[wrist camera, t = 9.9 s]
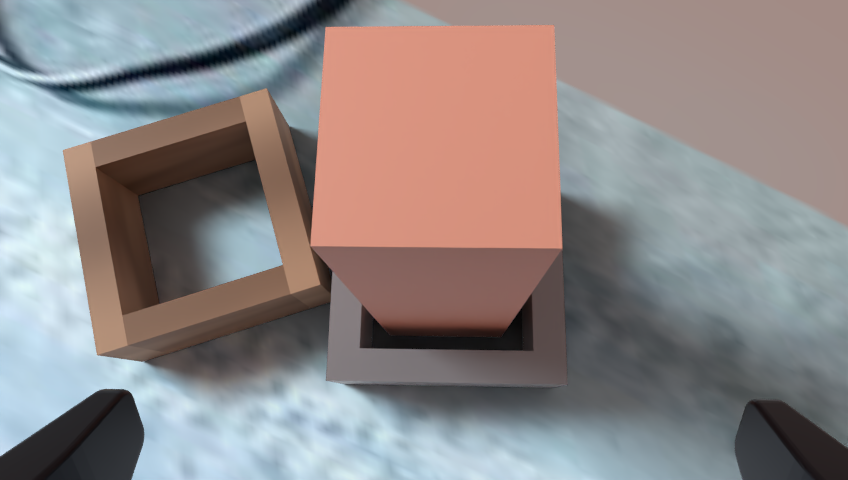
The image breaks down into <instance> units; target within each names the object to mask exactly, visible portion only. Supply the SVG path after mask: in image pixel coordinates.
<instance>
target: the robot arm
mask: <svg viewBox="0 0 848 480" xmlns="http://www.w3.org/2000/svg"><path fill="white" fill-rule="evenodd" d="M143 442H144V428H143V424H142V421H141V419H140V416H139V413H138V410H137V407H136V404H135V401H134V398H133V396H132V394H131V393H130V392H129V391H128V390H124V389H103V390H99V391H97V392H95V393H94V394H92V395H91V396H89V397H88V398H86V399H85V400H83V401H82V402H80V403H79V404H77V405H76V406H74V407H73V408H71V409H70V410H68V411H67V412H65V413H64V414H62V415H61V416H60V417H58V418H57V419H55V420H54V421H52V422H51V423H49V424H48V425H46V426H45V427H43V428H42V429H40V430H39V431H37V432H36V433H34V434H33V435H31V436H30V437H28V438H27V439H25V440H24V441H22V442H21V443H19V444H18V445H16V446H15V447H13V448H12V449H11V450H9V451H8V452H6V453H5V454H3V455H2V456H0V480H131V479H132V476H133V473H134V470H135V467H136V464H137V461H138V458H139V455H140V452H141V449H142V446H143ZM735 455H736V459H737V462H738V466H739V469H740V473H741V476H742V479H743V480H848V448H847V447H845V446H844V445H843V444H841V443H840V442H838V441H837V440H836V439H834V438H833V437H832V436H830V435H829V434H827V433H826V432H825V431H823V430H822V429H821V428H819V427H818V426H816V425H815V424H814V423H812V422H811V421H810V420H808V419H807V418H805V417H804V416H803V415H801V414H800V413H799V412H797V411H796V410H795V409H793V408H792V407H790V406H789V405H788V404H786V403H785V402H783V401H781V400H776V399H753V400H750V401H749V402H748V403H747V405H746V407H745V410H744V413H743V416H742V419H741V422H740V425H739V429H738V432H737V435H736V438H735Z"/></svg>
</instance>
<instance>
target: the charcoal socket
mask: <svg viewBox="0 0 848 480" xmlns="http://www.w3.org/2000/svg"><path fill="white" fill-rule="evenodd" d="M522 333H523V351H504V350H437V349H372V338H373V316H372V315H371V314H370V313H369V311H368V310H367V309H366V308H365V307H364V306H363V305H362V304H361V302H360V301H359V300H358V299H357V298H356V297H355V296H354V295H353V293H352V292H351V291H350V290H349V289H348V288H347V287H346V286H345V284H344V283H343V282H342V281H341V280H340V279H339V278H338V277H337V276H336V274H335V273H334V272H333V271H332V286H331V304H330V321H329V338H328V355H327V372H326V381H331V382H336V383H341V384H375V385H431V386H487V387H543V388H553V387H559V386H564V385H568V381H567V356H566V331H565V306H564V281H563V256H562V250H561V251H560V253H559V254H558V256H557V257H556V259H555V260H554V262H553V263H552V264H551V266H550V267H549V269H548V270H547V272H546V273H545V275H544V276H543V277H542V279H541V280H540V282H539V283H538V285H537V286H536V288H535V289H534V290H533V292H532V293H531V295H530V296H529V298H528V299H527V301H526V302H525V303H524V305H523V306H522Z"/></svg>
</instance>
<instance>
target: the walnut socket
mask: <svg viewBox="0 0 848 480" xmlns="http://www.w3.org/2000/svg"><path fill="white" fill-rule="evenodd" d="M63 154H64V160H65V166H66V172H67V178H68V184H69V190H70V196H71V202H72V208H73V214H74V220H75V226H76V232H77V238H78V244H79V250H80V256H81V262H82V268H83V274H84V280H85V286H86V292H87V298H88V304H89V310H90V316H91V322H92V327H93V333H94V339H95V345H96V351H97V355H100V356H107V357H114V358H121V359H128V360H134V361H141V362H143V361H146V360H150V359H153V358H156V357H159V356H162V355H165V354H169V353H172V352H175V351H178V350H181V349H184V348H187V347H191V346H194V345H197V344H200V343H203V342H206V341H209V340H213V339H216V338H219V337H222V336H225V335H228V334H232V333H235V332H238V331H241V330H244V329H247V328H250V327H254V326H257V325H260V324H263V323H266V322H269V321H273V320H276V319H279V318H282V317H285V316H288V315H291V314H295V313H298V312H301V311H304V310H307V309H310V308H314V307H317V306H320V305H323V304H326V303H329V302H331V286H332V280H331V276H330V272H329V269H328V265H327V264H326V263H325V262H324V261H323V260H322V259H321V258H320V256H319V255H318V254H317V253H316V252H315V251H314V250H313V249H312V247H311V246H310V244H311V229H312V215H313V211H312V208H311V204H310V201H309V197H308V193H307V190H306V186H305V183H304V179H303V176H302V172H301V168H300V165H299V161H298V158H297V154H296V150H295V147H294V143H293V140H292V136H291V132H290V129H289V125H288V124H287V122H286V120H285V119H284V117H283V115H282V113H281V112H280V110H279V108H278V107H277V105H276V103H275V101H274V100H273V98H272V96H271V95H270V93H269V91H268V90H267V88H266V89H263V90H260V91H256V92H253V93H250V94H246V95H243V96H240V97H237V98H233V99H230V100H227V101H223V102H220V103H217V104H214V105H210V106H207V107H204V108H200V109H197V110H194V111H190V112H187V113H184V114H181V115H177V116H174V117H171V118H167V119H164V120H161V121H157V122H154V123H151V124H148V125H144V126H141V127H138V128H134V129H131V130H128V131H125V132H121V133H118V134H115V135H111V136H108V137H105V138H101V139H98V140H95V141H92V142H88V143H85V144H82V145H78V146H75V147H72V148H69V149H65V150H63ZM255 159H256V162H257V166H258V170H259V174H260V178H261V182H262V186H263V189H264V193H265V197H266V201H267V205H268V209H269V213H270V217H271V220H272V224H273V228H274V232H275V236H276V240H277V244H278V248H279V251H280V255H281V259H282V263H283V265H282V266H279V267H276V268H272V269H269V270H266V271H263V272H260V273H256V274H253V275H250V276H247V277H244V278H241V279H237V280H234V281H231V282H228V283H225V284H221V285H218V286H215V287H212V288H209V289H205V290H202V291H199V292H196V293H193V294H190V295H186V296H183V297H180V298H177V299H174V300H170V301H167V302H164V303H161V304H159V299H158V294H157V289H156V284H155V279H154V274H153V269H152V264H151V259H150V254H149V249H148V244H147V239H146V234H145V229H144V224H143V219H142V214H141V209H140V204H139V199H138V195H142V194H145V193H148V192H151V191H155V190H158V189H161V188H164V187H168V186H171V185H174V184H177V183H181V182H184V181H187V180H190V179H194V178H197V177H200V176H203V175H207V174H210V173H213V172H216V171H220V170H223V169H226V168H229V167H233V166H236V165H239V164H242V163H246V162H249V161H252V160H255Z"/></svg>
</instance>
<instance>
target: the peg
mask: <svg viewBox="0 0 848 480" xmlns="http://www.w3.org/2000/svg"><path fill="white" fill-rule="evenodd" d="M310 246H311V247H312V249H313V250H314V251H315V252H316V253H317V254H318V255H319V256H320V258H321V259H322V260H323V261H324V262H325V263H326V264H327V265H328V267H329V268H330V269H331V270H332V271H333V272H334V273H335V274H336V276H337V277H338V278H339V279H340V280H341V281H342V282H343V283H344V284H345V286H346V287H347V288H348V289H349V290H350V291H351V292H352V293H353V295H354V296H355V297H356V298H357V299H358V300H359V301H360V302H361V304H362V305H363V306H364V307H365V308H366V309H367V310H368V311H369V313H370V314H371V315H372V316H373V317H374V318H375V319H376V320H377V321H378V323H379V324H380V325H381V326H382V327H383V328H384V329H385V330H386V332H387V333H388V334H389V335H390V336H446V337H502V335H503V334H504V332H505V331H506V329H507V328H508V327H509V325H510V324H511V322H512V321H513V319H514V318H515V316H516V315H517V314H518V312H519V311H520V309H521V308H522V306H523V305H524V303H525V302H526V301H527V299H528V298H529V296H530V295H531V293H532V292H533V290H534V289H535V288H536V286H537V285H538V283H539V282H540V280H541V279H542V277H543V276H544V275H545V273H546V272H547V270H548V269H549V267H550V266H551V264H552V263H553V262H554V260H555V259H556V257H557V256H558V254H559V253H560V251H561V250H562V223H561V196H560V169H559V142H558V116H557V89H556V63H555V36H554V25H521V26H520V25H519V26H396V27H326V32H325V46H324V60H323V74H322V88H321V102H320V116H319V131H318V145H317V159H316V173H315V187H314V201H313V215H312V229H311V244H310Z"/></svg>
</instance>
